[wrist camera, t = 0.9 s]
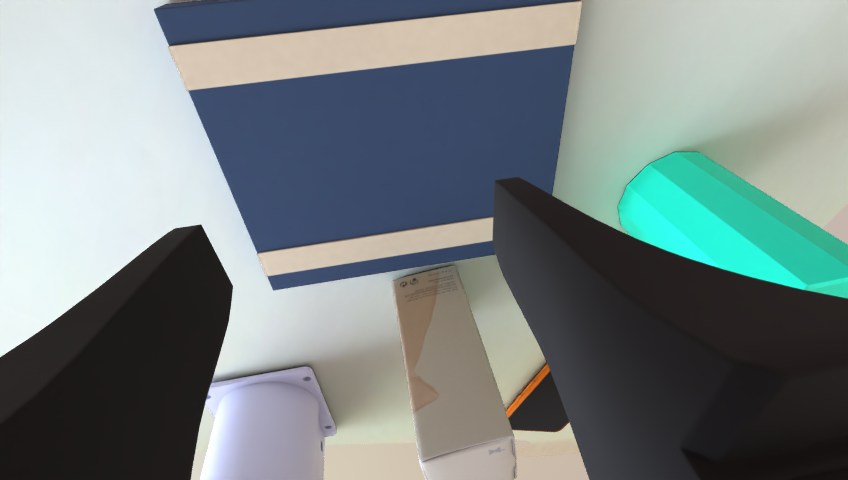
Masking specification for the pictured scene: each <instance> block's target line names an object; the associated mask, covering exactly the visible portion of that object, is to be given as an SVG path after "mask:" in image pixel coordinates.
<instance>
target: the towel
mask: <svg viewBox="0 0 848 480" xmlns="http://www.w3.org/2000/svg"><path fill="white" fill-rule="evenodd" d="M581 7H582V1H581V0H202V1H192V2H182V3H172V4H165V5H163V6H160V7H158V8H156V9H154V11H155V14H156V16H157V18H158V21H159V23H160V25H161V28H162V30H163V32H164V35H165V37H166V39H167V42H168V44H169V46H168V48H169V50H170V53H171V55H172V57H173V60H174V62H175V64H176V67H177V69H178V71H179V74H180V76H181V78H182V81H183V83H184V85H185V88H186V90H187V91H189V93H190V96H191V98H192V101H193V103H194V105H195V108H196V110H197V112H198V115H199V117H200V119H201V122H202V124H203V126H204V129H205V131H206V133H207V136H208V138H209V140H210V143H211V145H212V148H213V150H214V152H215V155H216V157H217V159H218V162H219V164H220V166H221V169H222V171H223V173H224V176H225V178H226V180H227V183H228V185H229V187H230V190H231V192H232V195H233V197H234V199H235V202H236V204H237V206H238V209H239V211H240V213H241V216H242V218H243V220H244V223H245V225H246V227H247V230H248V232H249V234H250V237H251V239H252V242H253V244H254V246H255V249H256V251H257V256H258V258H259V261H260V263H261V265H262V268H263V270H264V272H265V275H266V276H267V277H268V279H269V281H270V284H271V286H272V288H273V290H279V289H285V288H291V287H297V286H303V285H309V284H316V283H322V282H328V281H334V280H340V279H346V278H353V277H359V276H365V275H371V274H377V273H384V272H390V271H396V270H402V269H408V268H414V267H421V266H427V265H433V264H439V263H445V262H451V261H458V260H464V259H470V258H476V257H482V256H488V255H495V254H496V253H495V250H494V247H493V244H492V239H493V212H494V186H495V180H500V179H507V178H514V177H520V178H522V179H524V180H526V181H528V182H529V183H531V184H533V185H535V186H536V187H538V188H540V189H542V190H543V191H545V192H547V193H549V194H550V195H552V192H553V186H554V179H555V172H556V165H557V159H558V152H559V145H560V138H561V132H562V125H563V118H564V111H565V104H566V98H567V91H568V84H569V77H570V71H571V64H572V57H573V50H574V45H575V44H576V41H577V34H578V27H579V21H580V14H581Z"/></svg>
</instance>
